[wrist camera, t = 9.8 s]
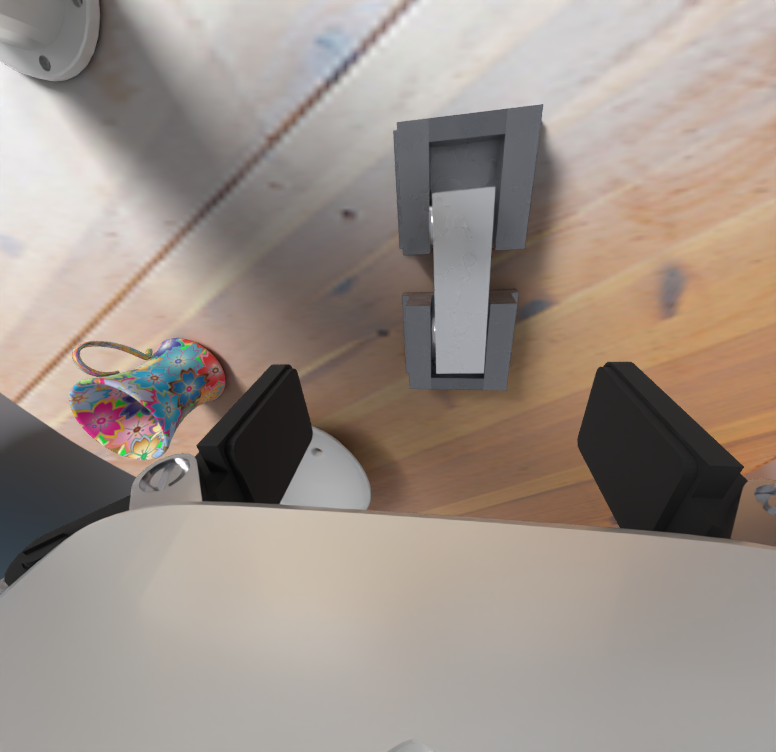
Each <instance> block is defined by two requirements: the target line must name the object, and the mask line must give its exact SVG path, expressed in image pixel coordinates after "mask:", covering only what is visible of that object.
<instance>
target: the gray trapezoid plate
mask: <svg viewBox="0 0 776 752" xmlns="http://www.w3.org/2000/svg"><path fill="white" fill-rule="evenodd" d="M494 201H495V187H477V188H467V189H458V190H449V191H439V192H434V193H432V206H430V207H429V239H430V244H433V251H434V295H435V317H432V345H433V346H436V374H448V373H484V363H485V347H486V330H487V314H488V298H489V282H490V266H491V249H492V233H493V217H494Z"/></svg>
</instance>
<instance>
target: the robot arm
mask: <svg viewBox="0 0 776 752" xmlns="http://www.w3.org/2000/svg"><path fill="white" fill-rule="evenodd" d="M99 23H100V8H99V0H0V61H1V62H2V63H4V64H5V65H7V66H9V67H10V68H12V69H14V70H16V71H18V72H20V73H22V74H25V75H29V76H32V77H35V78H38V79H43V80H49V81H63V80H68V79H70V78H72V77H74V76H77V75H78V74H79V73H80V72H81V71H82V70H83V69H84V68H85V67H86V66H87V65H88V63H89V61H90V59H91V57H92V56H93V54H94V51H95V47H96V43H97V40H98V35H99ZM312 437H313V430H312V426H311V422H310V418H309V414H308V411H307V407H306V403H305V399H304V395H303V392H302V388H301V384H300V380H299V376H298V373H297V371H296V369H292V367H291V366H290V365H271V366H270V367H269V368H268V369H267V370H266V371H265V372H264V374H263V375H262V376H261V377H260V378H259V379H258V380H257V381H256V382H255V383H254V384H253V385H252V386H251V387H250V389H249V390H248V391H247V392H246V393H245V394H244V395H243V396H242V397H241V398H240V399H239V400H238V401H237V403H236V404H235V405H234V406H233V407H232V408H231V409H230V410H229V411H228V412H227V413H226V414H225V415H224V416H223V418H222V419H221V420H220V421H219V422H218V423H217V424H216V425H215V426H214V427H213V428H212V429H211V430H210V432H209V433H208V434H207V435H206V436H205V437H204V438H203V439H202V440H201V441H200V442H199V443H198V444H197V445H196V446H197V448H198V450H199V453H198V454H197V455H196V456H195V457H194V456H192V455H191V454H184V453H182V454H174V455H171V456H168V457H165V458H163V459H160V460H158V461H156V462H155V463H153V464H151V465H150V466H148V467H147V468H146V469H144V470H143V471H142V472H141V473H140V474H139V475H138V476H137V478H136V479H135V480H134V482H133V485H132V489H131V495H130V496H127V497H125V498H123V499H121V500H119V501H117V502H115V503H112V504H110V505H108V506H106V507H104V508H101V509H99V510H97V511H95V512H93V513H90V514H88V515H86V516H84V517H82V518H79V519H78V520H75V521H73V522H71V523H69V524H66V525H64V526H62V527H60V528H58V529H55V530H54V531H51V532H50V533H47V534H45V535H43V536H41V537H40V538H38V539H36V540H35V541H33V542H32V543H31V544H29V546H27V547H26V548H25V549H24V550H23V551H22V552H21V553H20V554H19V555H18V556H17V557H16V558H15V559H14V561H13V562H12V563H11V564H10V566H9V568H8V569H7V571H6V573H5V578H3V579H2V580H0V752H776V480H772V479H754V480H751V481H747V480H746V479H745V478H744V477H743V476H742V475H741V474H740V472H741V471H742V469H743V468H744V466H743V465H741V464H740V463H739V462H738V461H737V460H736V459H735V458H734V457H733V456H732V455H731V454H730V453H729V452H728V451H726V450H725V449H724V448H723V447H722V446H721V445H720V444H719V443H718V442H717V441H716V440H715V439H714V438H713V437H712V436H710V435H709V434H708V433H707V432H706V431H705V430H704V429H703V428H702V427H701V426H700V425H699V424H698V423H697V422H696V421H694V420H693V419H692V418H691V417H690V416H689V415H688V414H687V413H686V412H685V411H684V410H683V409H682V408H681V407H679V406H678V405H677V404H676V403H675V402H674V401H673V400H672V399H671V398H670V397H669V396H668V395H667V394H666V393H665V392H663V391H662V390H661V389H660V388H659V387H658V386H657V385H656V384H655V383H654V382H653V381H652V380H651V379H650V378H649V377H647V376H646V375H645V374H644V373H643V372H642V371H641V370H640V369H639V368H638V367H637V366H636V365H635V364H634V363H632V362H607V363H606V364H605V365H604V367H599V368H598V369H597V372H596V375H595V379H594V382H593V386H592V389H591V393H590V396H589V400H588V403H587V407H586V410H585V414H584V417H583V421H582V425H581V428H580V432H579V435H578V447H579V450H580V452H581V454H582V456H583V458H584V460H585V462H586V464H587V465H588V467H589V469H590V471H591V473H592V475H593V477H594V479H595V481H596V483H597V485H598V487H599V489H600V491H601V492H602V494H603V496H604V498H605V500H606V502H607V504H608V506H609V508H610V510H611V512H612V514H613V516H614V517H615V519H616V521H617V523H618V525H619V527H620V528H611V527H599V526H586V525H572V524H559V523H545V522H532V521H519V520H505V519H492V518H477V517H463V516H449V515H435V514H420V513H405V512H391V511H376V510H361V509H345V508H329V507H313V506H298V505H282V504H280V502H281V500H282V498H283V496H284V494H285V492H286V490H287V489H288V487H289V485H290V483H291V481H292V479H293V477H294V475H295V473H296V471H297V469H298V467H299V465H300V463H301V461H302V459H303V457H304V455H305V453H306V451H307V449H308V447H309V445H310V443H311V441H312Z"/></svg>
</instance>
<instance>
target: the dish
mask: <svg viewBox="0 0 776 752" xmlns="http://www.w3.org/2000/svg"><path fill="white" fill-rule="evenodd" d="M311 426H312V425H311ZM312 430H313V437H312V441H311V443H310V445H309V447H308V449H307V451H306V453H305V455H304V457H303V459H302V461H301V463H300V465H299V467H298V469H297V471H296V473H295V475H294V477H293V479H292V481H291V483H290V485H289V487H288V489H287V490H286V492H285V494H284V496H283V498H282V500H281V502H280V504H282V505H298V506H313V507H329V508H345V509H361V510H367V508H368V506H369V504H370V500H371V487H370V483H369V480H368V477H367V475H366V473H365V471H364V469H363V468H362V466H361V465H360V463H359V462H358V460H357V459H356V458H355V457H354V456H353V454H352V453H351V452H350V451H349V450H348V449H347V448H345V446H344V445H342V444H341V443H340V442H339V441H338V440H337V439H336V438H334V437H333V436H331V435H330V434H328V433H327V432H325V431H323V430H321V429H319V428H317V427H314V426H312ZM316 448H318V449H320V450H322V451H318V450H317V449H316Z"/></svg>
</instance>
